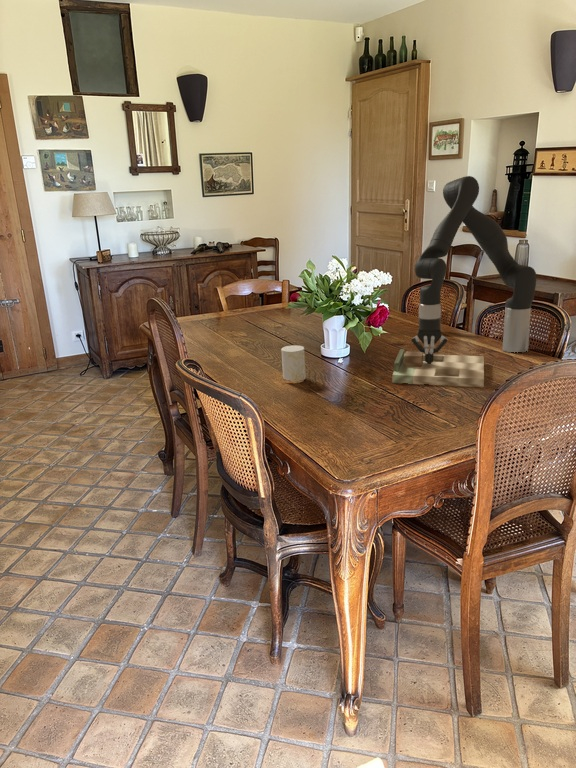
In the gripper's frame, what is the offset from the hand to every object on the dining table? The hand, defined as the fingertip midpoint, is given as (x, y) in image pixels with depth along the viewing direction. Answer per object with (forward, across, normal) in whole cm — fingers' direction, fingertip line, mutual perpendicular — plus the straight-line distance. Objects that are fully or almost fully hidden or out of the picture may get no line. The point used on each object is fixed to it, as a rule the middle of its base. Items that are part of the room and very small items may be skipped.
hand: (429, 363), depth 208 cm
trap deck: (+4, -4, 0) cm, 5 cm away
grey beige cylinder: (+3, +46, +15) cm, 49 cm away
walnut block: (+1, +6, 0) cm, 6 cm away
